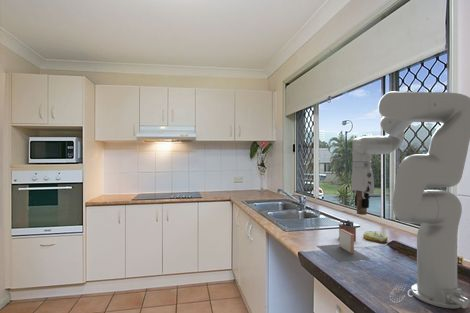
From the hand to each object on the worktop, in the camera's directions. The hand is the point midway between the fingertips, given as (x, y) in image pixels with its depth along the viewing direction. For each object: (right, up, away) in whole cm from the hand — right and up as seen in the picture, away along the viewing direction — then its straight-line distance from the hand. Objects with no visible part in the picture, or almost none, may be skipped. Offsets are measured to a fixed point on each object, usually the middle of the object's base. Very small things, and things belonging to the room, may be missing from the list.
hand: (361, 206), depth 119 cm
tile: (-7, -19, -1) cm, 20 cm away
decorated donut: (+14, -20, +15) cm, 28 cm away
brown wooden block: (0, -3, 0) cm, 3 cm away
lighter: (0, -20, +14) cm, 24 cm away
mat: (-10, -19, -4) cm, 22 cm away
